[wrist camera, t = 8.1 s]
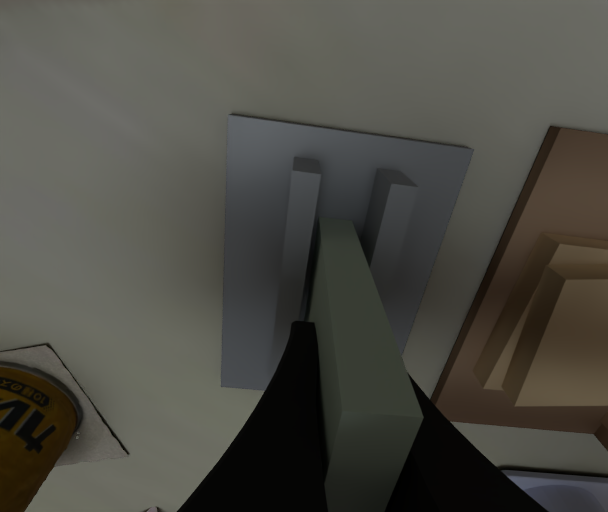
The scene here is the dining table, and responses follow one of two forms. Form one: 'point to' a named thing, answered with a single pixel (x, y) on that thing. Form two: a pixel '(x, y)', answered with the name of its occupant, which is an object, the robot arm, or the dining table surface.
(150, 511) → the lily
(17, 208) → the dining table surface
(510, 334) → the offcut lower
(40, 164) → the dining table surface
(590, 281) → the offcut upper
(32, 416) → the condiment
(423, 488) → the robot arm
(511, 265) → the rack
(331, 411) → the sheet
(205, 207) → the dining table surface
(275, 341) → the stand
